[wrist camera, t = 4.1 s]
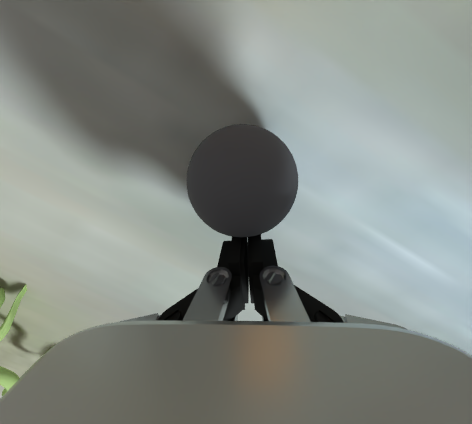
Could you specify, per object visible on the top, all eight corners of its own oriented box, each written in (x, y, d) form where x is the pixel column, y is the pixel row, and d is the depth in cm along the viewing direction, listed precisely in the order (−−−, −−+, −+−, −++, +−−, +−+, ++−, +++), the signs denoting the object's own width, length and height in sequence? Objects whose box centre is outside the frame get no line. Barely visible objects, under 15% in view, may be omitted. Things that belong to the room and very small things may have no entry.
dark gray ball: (266, 169, 13) (259, 87, 9) (313, 226, 10) (342, 142, 5) (199, 201, 13) (155, 132, 8) (225, 270, 10) (178, 219, 5)
